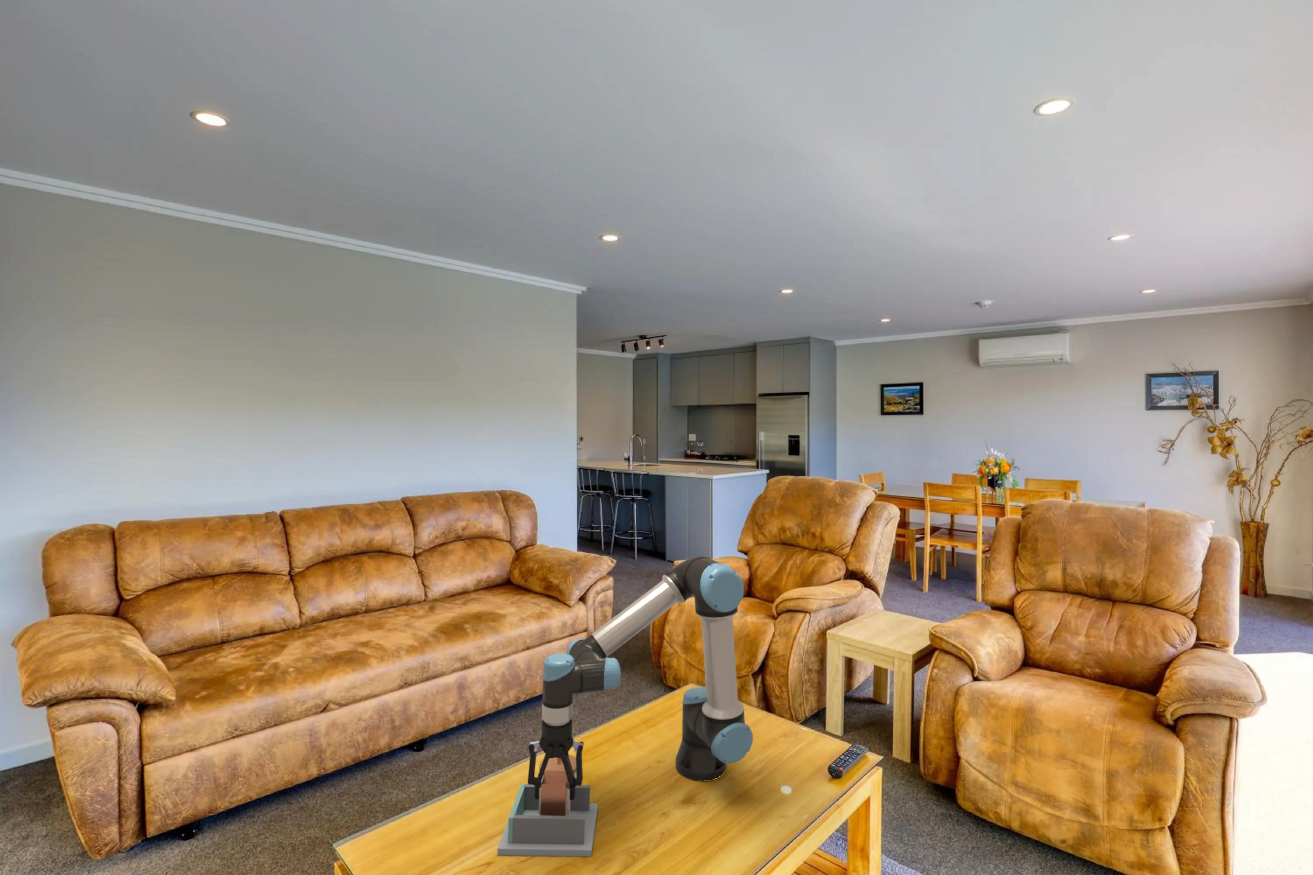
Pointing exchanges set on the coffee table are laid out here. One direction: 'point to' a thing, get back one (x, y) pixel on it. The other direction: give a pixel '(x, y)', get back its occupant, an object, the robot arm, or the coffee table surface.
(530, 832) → the dock
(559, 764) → the lidded jar
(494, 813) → the coffee table surface
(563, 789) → the upright terracotta block
